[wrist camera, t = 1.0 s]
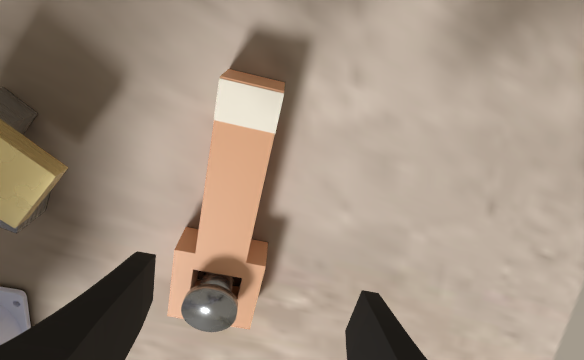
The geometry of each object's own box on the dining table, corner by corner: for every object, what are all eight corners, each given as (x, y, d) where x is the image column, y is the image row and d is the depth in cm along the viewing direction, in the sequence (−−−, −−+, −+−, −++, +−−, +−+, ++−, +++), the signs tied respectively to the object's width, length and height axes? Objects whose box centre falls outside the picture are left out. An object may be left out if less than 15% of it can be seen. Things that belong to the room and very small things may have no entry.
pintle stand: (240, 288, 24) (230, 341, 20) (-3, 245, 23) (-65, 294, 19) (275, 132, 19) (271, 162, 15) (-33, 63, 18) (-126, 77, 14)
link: (253, 302, 25) (249, 330, 23) (178, 289, 24) (167, 316, 22) (306, 87, 18) (309, 97, 16) (206, 63, 18) (193, 70, 15)
